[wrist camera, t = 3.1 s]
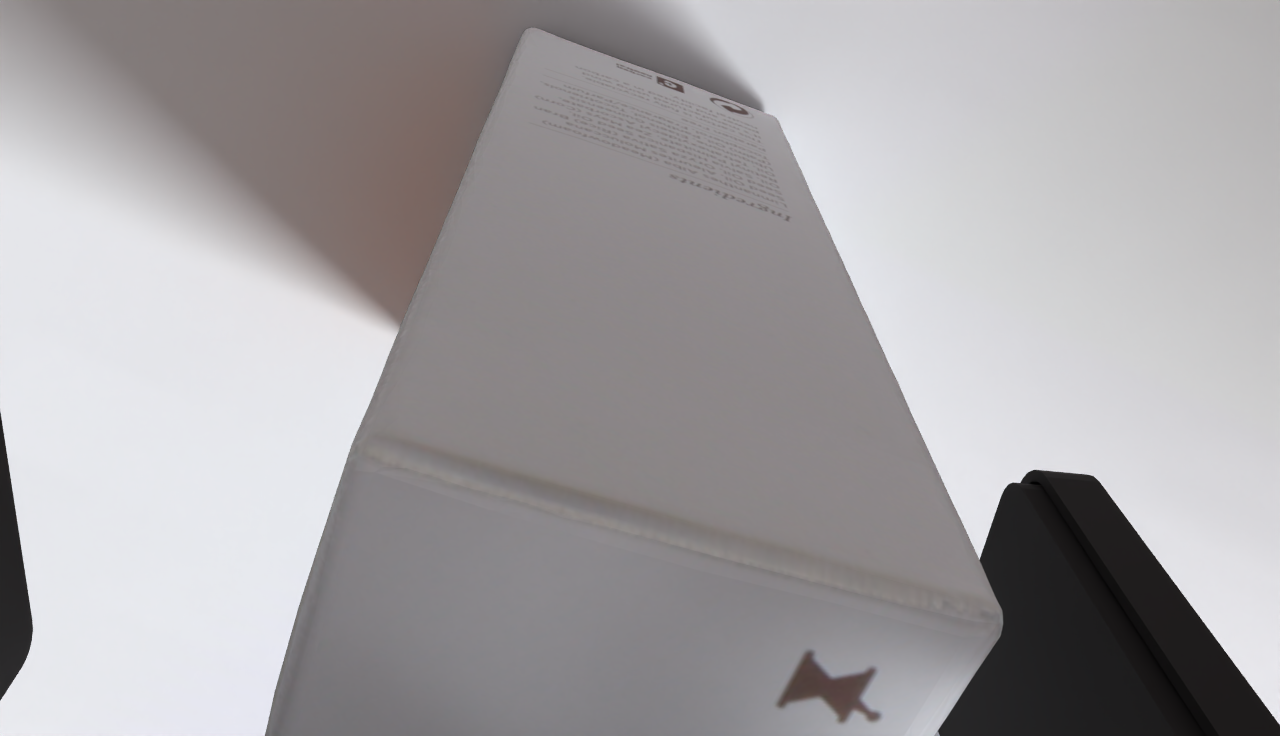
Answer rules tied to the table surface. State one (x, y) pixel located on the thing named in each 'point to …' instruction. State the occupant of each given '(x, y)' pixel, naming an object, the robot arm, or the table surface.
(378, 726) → the skincare box
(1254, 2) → the table surface
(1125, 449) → the table surface
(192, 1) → the table surface
